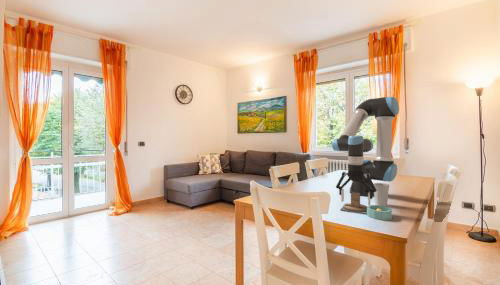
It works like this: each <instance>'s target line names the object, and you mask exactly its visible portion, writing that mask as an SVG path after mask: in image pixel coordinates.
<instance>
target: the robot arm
mask: <svg viewBox="0 0 500 285" xmlns="http://www.w3.org/2000/svg"><path fill="white" fill-rule="evenodd" d="M399 112H400V106H399V102H398V99H397V98H396V97H395V96H384V97H375V98H368V99H366V100H364V101H363V102H361V103H360V104H359V105H357V107H355V109H354V111H353V112H352V114H353V115H352V117H351V119H350V120H349V121H348V123H347V124H346V127H345V128H344V130H343V131H342V133H341V134H340V136H339V138H334V139H333V140H332V141H331V148H332V150H333V151H335V152H347V163H348V165H347V172H346V171H342V172H341V177H340V178H339V180H338V182H337V184H336V186H335V188H336V189H338V192H339V193H338V194H339V196H341V198H340V202H341V203H342V202H344V201H345V197H344V196H345V189H344V187H346V185H348V183H349V182H350V181H351V185H350V188H349V193H350V194H351V193H352V192H353V193H360V197H367V206H370V205H371V200H372V199H373V197H374V196H375V195H374V192H376V191H377V190H376V188H375V186H374V182H373V181H381V182H387V183H388V182H391V183H392V182H393V181H394V180H395V178H396V176H397V173H398V165H397V164H396V163H395V160H394V159H393V158H392V143H393V142H392V141H393V137H392V136H393V121H394V119H396V116H397V115H399V114H400V113H399ZM369 117H374V119H375V120H376V146H375V148H376V149H375V150H376V151H375V153H376V154H375V158H373V161H372V160H371V159H364V153H368V152H370V151H372V150H373V148H374V143H373V141H372V140H371V139H369V138H364V136H363V135H357V134H358V133H359V130H360V128H361V126H362V125H363V123H364V121H366V120H367V119H368V118H369ZM346 176H347V177H348V178H347V180H346V181H344V179H345V177H346ZM343 181H344V182H343ZM342 182H343V184H342ZM341 184H342V185H341Z"/></svg>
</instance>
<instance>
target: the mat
mask: <svg viewBox="0 0 500 285" xmlns="http://www.w3.org/2000/svg"><path fill="white" fill-rule="evenodd" d="M340 212H347V213H352V214H353V213H355V214H360V215H366V216H367V211H363V212H356V211H350V210H347V209H345V208H344V205H343V206H341V208H340Z"/></svg>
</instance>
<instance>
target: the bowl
mask: <svg viewBox="0 0 500 285" xmlns="http://www.w3.org/2000/svg"><path fill="white" fill-rule="evenodd" d="M366 206H367V215H366V216H367V217H369V218H371V219H374V220H378V221H390V220H392V219H393V209H392V208H390V207H388V206H386V207H385V206H380V205H375V204H370V205H366ZM377 209H381V210H382V211H377Z"/></svg>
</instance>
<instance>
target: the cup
mask: <svg viewBox="0 0 500 285" xmlns="http://www.w3.org/2000/svg"><path fill="white" fill-rule="evenodd" d="M373 184H374V186H375V188H376V190H377V191H376V192H374V195H373V196H374V205H380V206H385V207H388V202H389V201H388V199H389V191H390V184H388V183H385V182H384V183H383V182H373Z"/></svg>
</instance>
